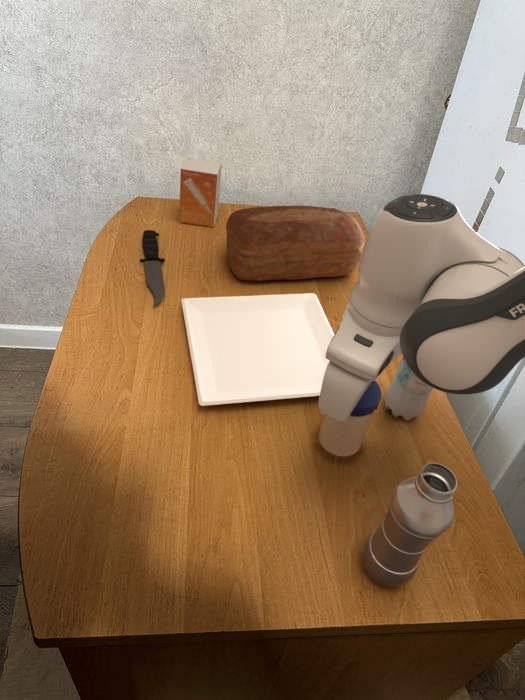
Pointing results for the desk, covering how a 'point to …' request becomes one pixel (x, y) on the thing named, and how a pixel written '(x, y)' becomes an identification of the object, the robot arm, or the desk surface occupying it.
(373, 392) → the lid
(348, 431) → the jar
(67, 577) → the desk surface
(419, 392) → the bottle
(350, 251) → the bread
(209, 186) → the small box
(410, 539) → the silver ringed container
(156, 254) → the knife
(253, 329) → the plate
